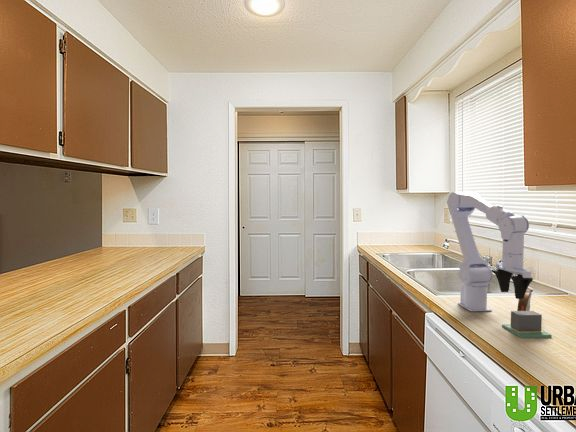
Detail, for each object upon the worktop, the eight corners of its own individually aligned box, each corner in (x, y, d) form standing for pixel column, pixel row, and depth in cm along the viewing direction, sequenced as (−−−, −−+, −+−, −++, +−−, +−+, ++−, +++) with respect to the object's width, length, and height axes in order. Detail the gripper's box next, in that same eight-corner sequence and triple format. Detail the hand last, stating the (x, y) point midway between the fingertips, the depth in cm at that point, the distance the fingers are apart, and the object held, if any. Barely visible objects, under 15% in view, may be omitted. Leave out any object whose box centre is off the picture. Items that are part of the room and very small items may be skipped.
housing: (510, 327, 110) (510, 311, 109) (532, 326, 110) (532, 310, 109) (518, 331, 106) (519, 315, 105) (541, 331, 106) (541, 314, 105)
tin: (521, 309, 129) (522, 287, 128) (531, 311, 127) (532, 288, 126) (515, 321, 117) (516, 296, 116) (527, 323, 115) (527, 298, 114)
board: (502, 326, 112) (502, 317, 112) (530, 326, 112) (530, 317, 112) (520, 337, 103) (521, 327, 103) (551, 337, 103) (551, 327, 103)
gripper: (487, 250, 121) (486, 289, 121) (515, 257, 106) (513, 301, 107) (508, 249, 121) (507, 289, 121) (538, 257, 106) (537, 301, 107)
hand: (511, 295), depth 114 cm, fingers open, 7 cm apart
